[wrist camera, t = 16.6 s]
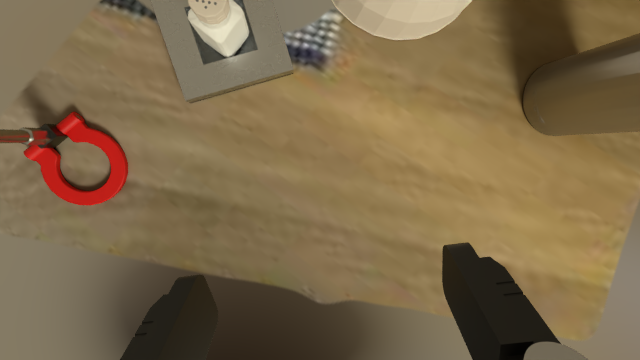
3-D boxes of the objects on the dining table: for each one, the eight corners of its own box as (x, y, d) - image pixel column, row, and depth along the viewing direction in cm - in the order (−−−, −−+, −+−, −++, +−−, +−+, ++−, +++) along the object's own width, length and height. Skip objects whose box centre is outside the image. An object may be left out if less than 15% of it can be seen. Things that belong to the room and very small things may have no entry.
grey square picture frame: (260, -34, 37) (258, -44, 35) (292, 73, 38) (293, 69, 36) (152, -6, 36) (145, -15, 34) (190, 103, 37) (185, 100, 35)
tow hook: (146, 170, 38) (84, 105, 36) (81, 188, 25) (-19, 89, 23) (88, 218, 37) (23, 155, 36) (-7, 260, 25) (-115, 165, 23)
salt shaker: (200, 39, 36) (171, 0, 27) (221, 9, 36) (200, -40, 27) (230, 62, 37) (212, 32, 27) (252, 33, 37) (241, -7, 27)
